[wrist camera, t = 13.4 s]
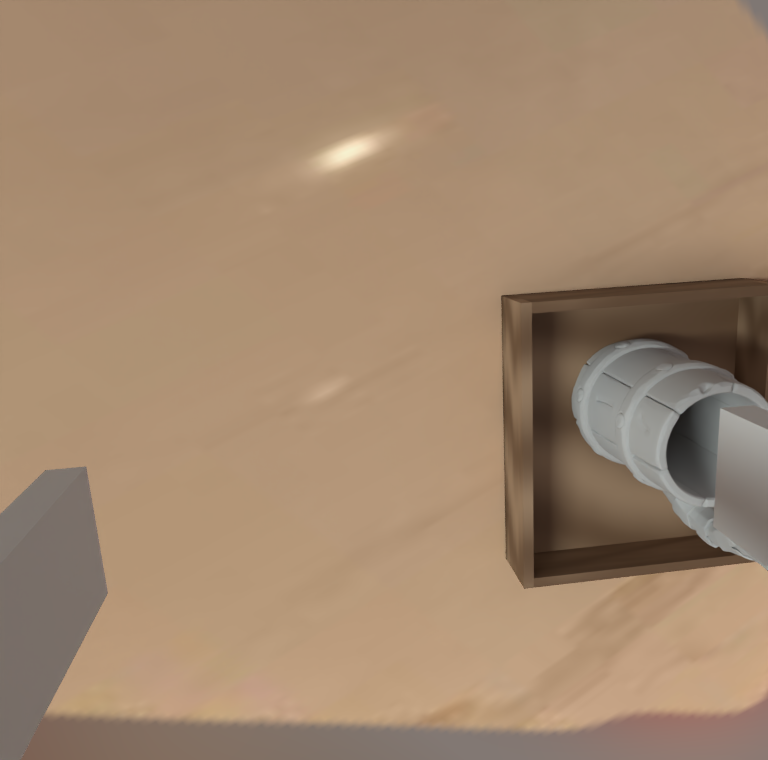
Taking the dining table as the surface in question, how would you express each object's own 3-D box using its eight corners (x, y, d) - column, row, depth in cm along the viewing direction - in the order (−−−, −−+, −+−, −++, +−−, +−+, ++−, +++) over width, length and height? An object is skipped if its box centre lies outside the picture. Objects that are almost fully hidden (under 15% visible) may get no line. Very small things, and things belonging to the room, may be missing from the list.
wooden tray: (501, 295, 41) (521, 303, 37) (741, 278, 42) (783, 283, 38) (506, 558, 45) (524, 588, 41) (725, 533, 46) (761, 561, 43)
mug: (660, 312, 41) (800, 348, 30) (720, 474, 44) (868, 566, 33) (547, 368, 41) (643, 427, 30) (614, 527, 44) (725, 637, 33)
